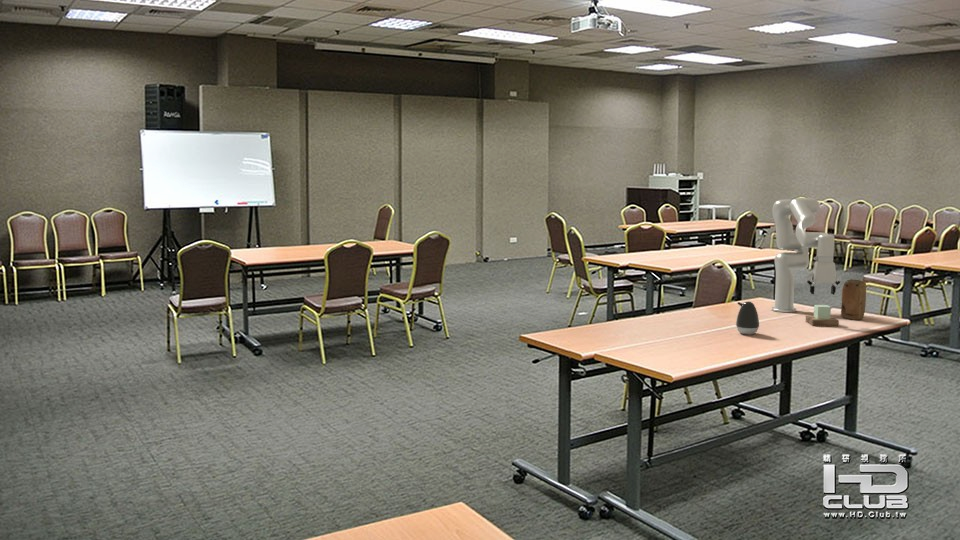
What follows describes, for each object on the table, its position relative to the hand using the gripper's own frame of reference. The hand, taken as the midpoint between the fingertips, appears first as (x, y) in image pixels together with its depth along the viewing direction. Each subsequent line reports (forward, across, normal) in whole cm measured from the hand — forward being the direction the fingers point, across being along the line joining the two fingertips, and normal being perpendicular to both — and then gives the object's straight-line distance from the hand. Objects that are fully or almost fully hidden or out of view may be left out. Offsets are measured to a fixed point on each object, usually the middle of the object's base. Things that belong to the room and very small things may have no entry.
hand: (822, 293), depth 392 cm
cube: (+12, 0, -1) cm, 12 cm away
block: (+16, +20, +15) cm, 29 cm away
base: (+15, 0, -1) cm, 15 cm away
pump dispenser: (+15, -42, -28) cm, 52 cm away
